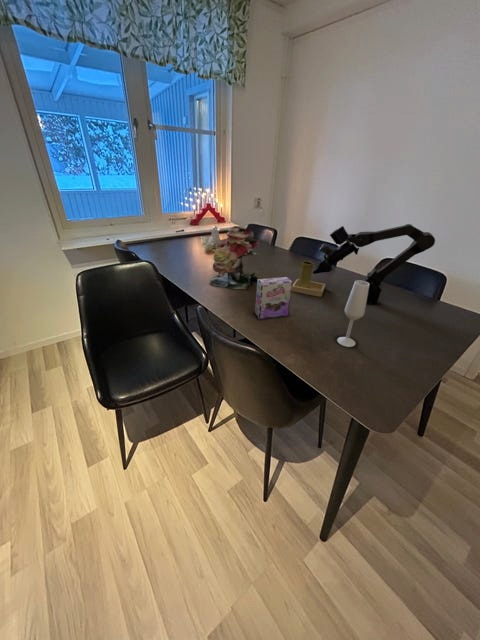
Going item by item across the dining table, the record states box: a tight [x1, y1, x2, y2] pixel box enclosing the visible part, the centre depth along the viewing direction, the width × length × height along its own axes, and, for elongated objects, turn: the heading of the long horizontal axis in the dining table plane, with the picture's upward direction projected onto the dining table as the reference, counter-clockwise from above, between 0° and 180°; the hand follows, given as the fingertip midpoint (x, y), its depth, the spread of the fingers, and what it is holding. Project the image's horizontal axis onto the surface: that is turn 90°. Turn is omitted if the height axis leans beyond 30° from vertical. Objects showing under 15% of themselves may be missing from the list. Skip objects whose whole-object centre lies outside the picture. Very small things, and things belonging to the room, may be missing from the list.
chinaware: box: [199, 225, 222, 252], centre depth 209 cm, size 28×17×17 cm, turn 17°
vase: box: [298, 260, 314, 289], centre depth 143 cm, size 6×6×14 cm
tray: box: [291, 278, 327, 298], centre depth 145 cm, size 16×12×3 cm
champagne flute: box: [336, 279, 370, 348], centre depth 98 cm, size 7×7×24 cm
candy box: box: [254, 276, 293, 320], centre depth 117 cm, size 14×6×16 cm, turn 105°
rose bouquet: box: [209, 225, 262, 290], centre depth 146 cm, size 26×29×30 cm
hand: (314, 270), depth 139 cm, fingers open, 9 cm apart
